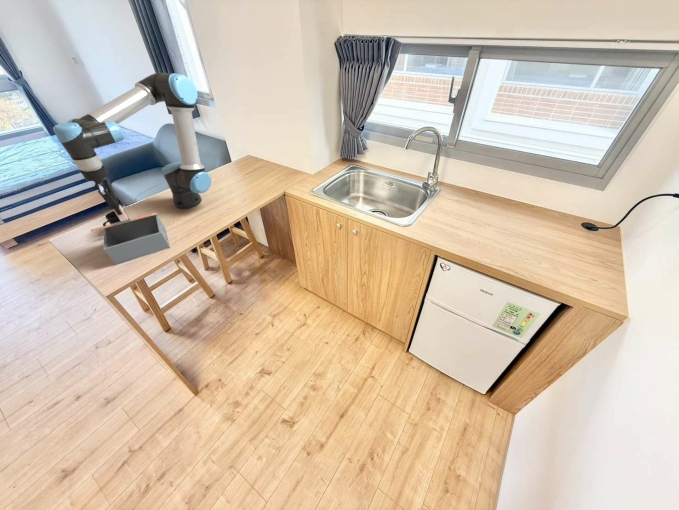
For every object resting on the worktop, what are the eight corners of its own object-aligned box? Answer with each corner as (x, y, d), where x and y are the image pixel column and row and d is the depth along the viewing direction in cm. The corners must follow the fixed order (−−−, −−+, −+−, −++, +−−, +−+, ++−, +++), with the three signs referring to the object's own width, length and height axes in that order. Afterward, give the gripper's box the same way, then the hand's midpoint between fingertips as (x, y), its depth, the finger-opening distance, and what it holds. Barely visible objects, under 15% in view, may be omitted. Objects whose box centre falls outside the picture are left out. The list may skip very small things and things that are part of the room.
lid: (104, 228, 122) (103, 226, 122) (157, 214, 131) (156, 212, 131) (90, 232, 106) (89, 229, 106) (152, 215, 115) (151, 213, 114)
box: (115, 243, 128) (104, 228, 122) (165, 229, 137) (157, 214, 131) (115, 265, 117) (103, 249, 111) (169, 247, 126) (161, 232, 120)
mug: (106, 237, 132) (94, 221, 126) (124, 224, 141) (114, 208, 135) (120, 239, 131) (108, 223, 125) (138, 225, 140) (128, 210, 133)
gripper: (81, 164, 104) (114, 215, 119) (77, 176, 95) (114, 229, 111) (104, 160, 107) (133, 210, 122) (102, 171, 99) (134, 224, 114)
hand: (124, 219), depth 117 cm, fingers closed
